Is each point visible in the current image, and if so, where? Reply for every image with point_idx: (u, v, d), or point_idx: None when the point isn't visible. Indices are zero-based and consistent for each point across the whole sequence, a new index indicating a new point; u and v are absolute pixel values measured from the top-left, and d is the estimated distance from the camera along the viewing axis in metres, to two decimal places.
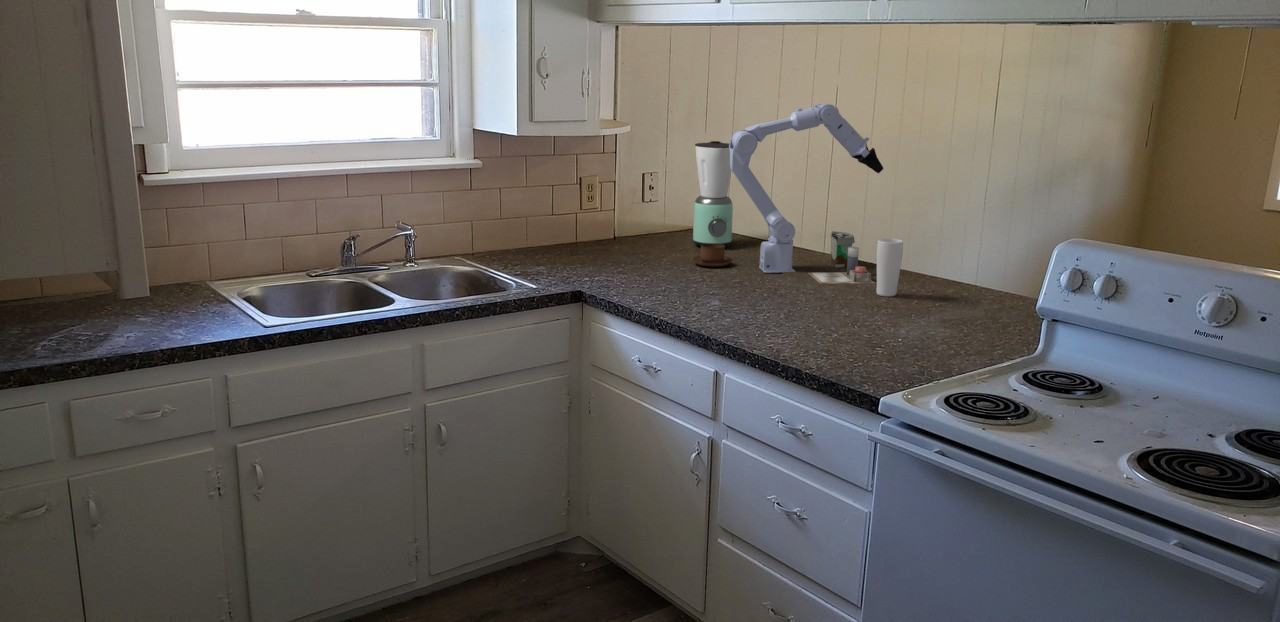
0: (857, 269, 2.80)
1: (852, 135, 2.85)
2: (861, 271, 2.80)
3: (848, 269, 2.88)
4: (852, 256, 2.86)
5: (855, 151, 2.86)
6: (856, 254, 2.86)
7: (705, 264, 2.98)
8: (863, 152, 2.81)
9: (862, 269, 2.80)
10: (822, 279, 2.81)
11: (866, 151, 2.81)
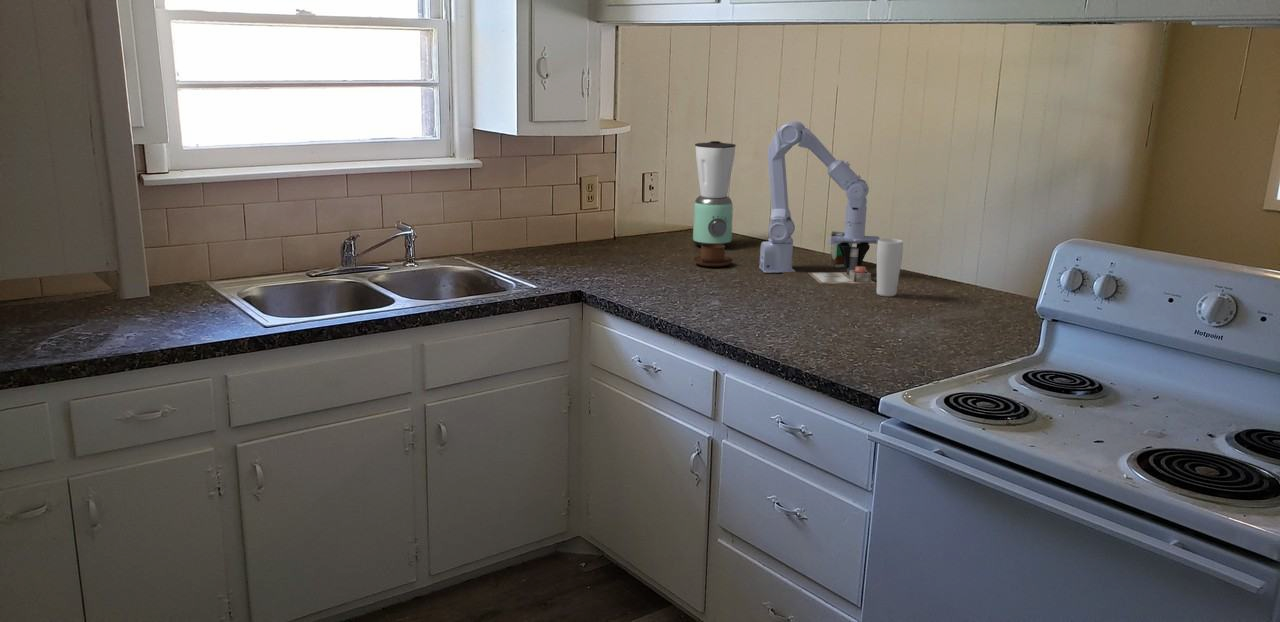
0: (857, 269, 2.80)
1: (847, 223, 2.84)
2: (861, 271, 2.80)
3: (848, 269, 2.88)
4: (852, 256, 2.86)
5: (844, 236, 2.87)
6: (856, 254, 2.86)
7: (705, 264, 2.98)
8: (829, 238, 2.86)
9: (862, 269, 2.80)
10: (822, 279, 2.81)
11: (830, 240, 2.85)
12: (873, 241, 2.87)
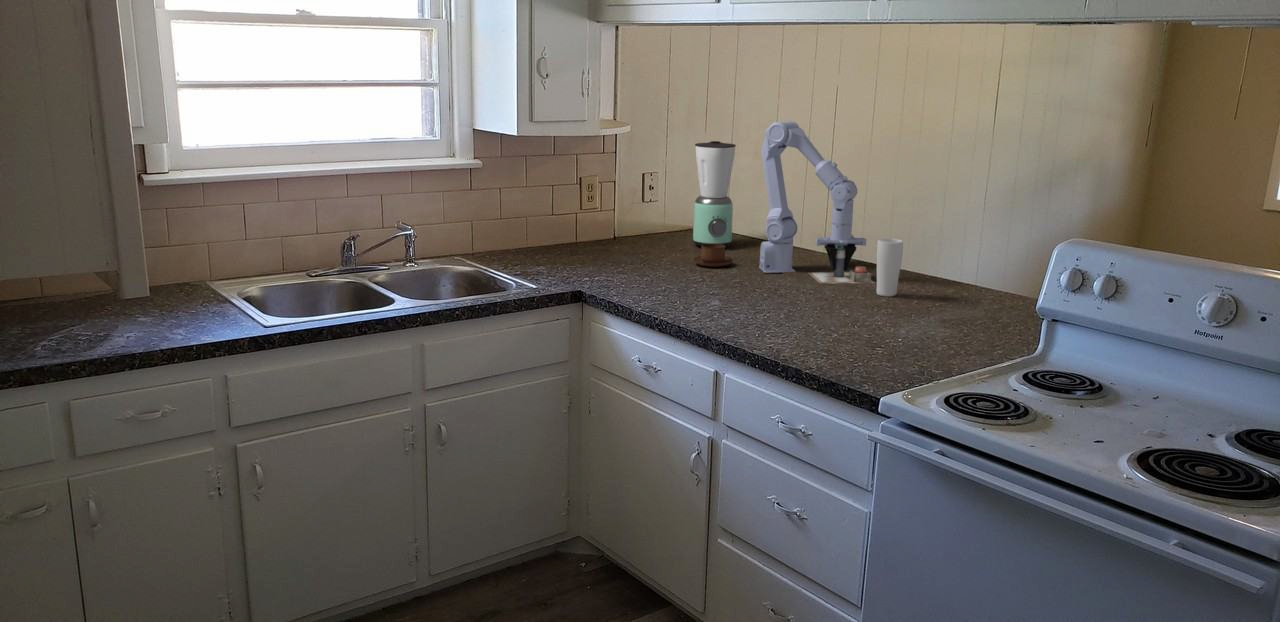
0: (857, 269, 2.80)
1: (834, 225, 2.81)
2: (861, 271, 2.80)
3: (835, 271, 2.85)
4: (838, 258, 2.83)
5: (830, 237, 2.84)
6: (843, 255, 2.83)
7: (706, 264, 2.97)
8: (815, 240, 2.83)
9: (862, 269, 2.80)
10: (822, 279, 2.81)
11: (816, 242, 2.82)
12: (860, 243, 2.84)
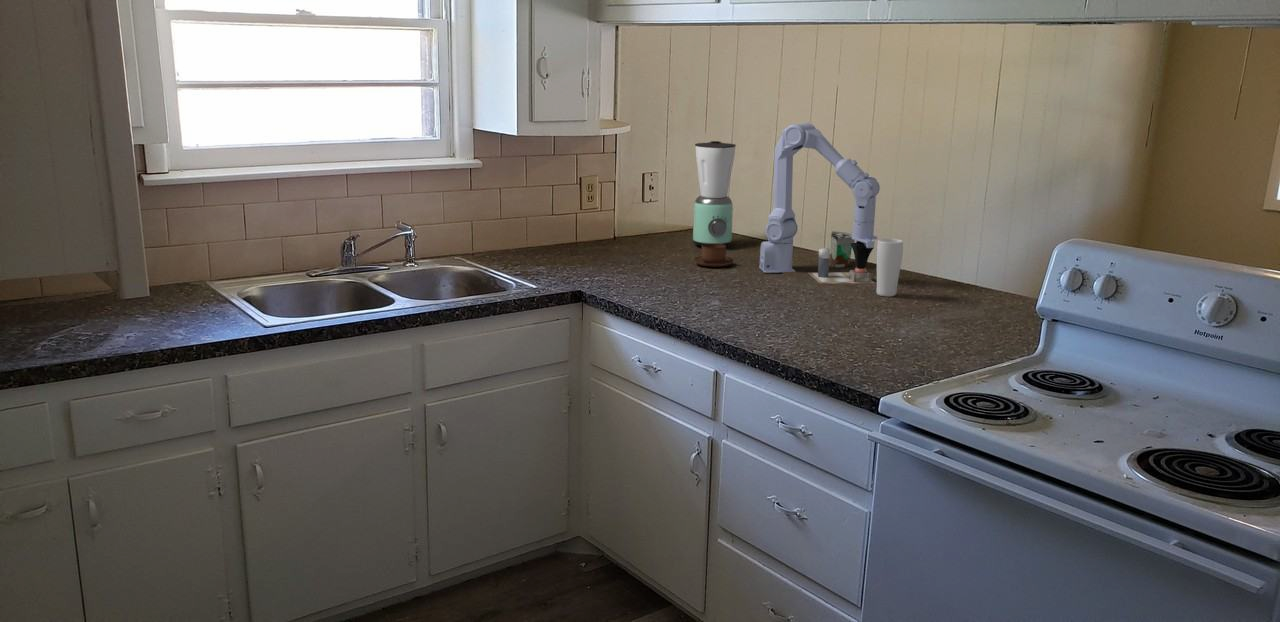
0: (857, 270, 2.80)
1: (870, 223, 2.75)
2: (861, 272, 2.80)
3: (819, 271, 2.84)
4: (822, 258, 2.82)
5: (860, 238, 2.76)
6: (827, 255, 2.82)
7: (706, 264, 2.97)
8: (870, 243, 2.72)
9: (862, 270, 2.80)
10: (822, 279, 2.81)
11: (872, 244, 2.72)
12: None
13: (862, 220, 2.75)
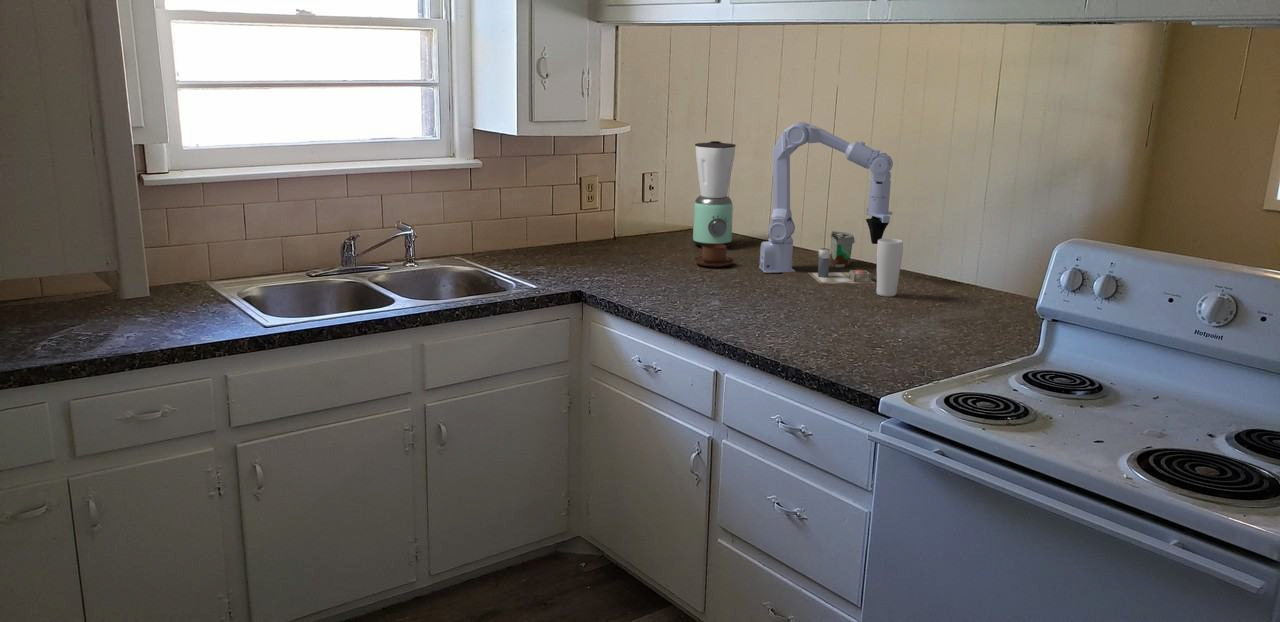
0: None
1: (885, 198, 2.79)
2: None
3: (819, 271, 2.84)
4: (822, 258, 2.82)
5: (876, 213, 2.79)
6: (827, 255, 2.82)
7: (707, 264, 2.97)
8: (885, 217, 2.75)
9: None
10: (822, 279, 2.81)
11: (888, 219, 2.75)
12: None
13: (880, 195, 2.78)
